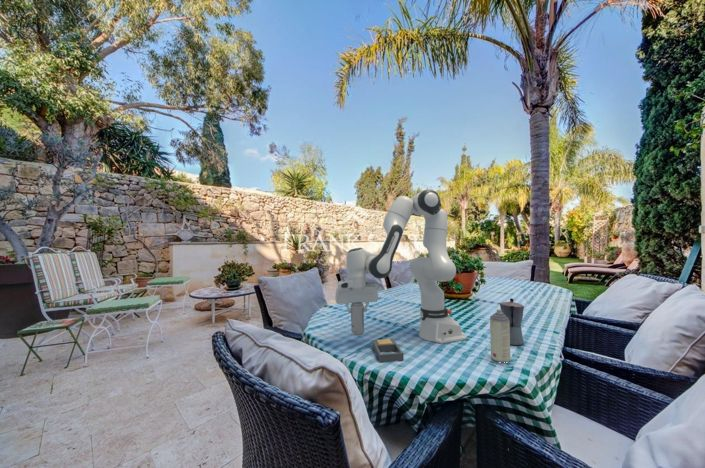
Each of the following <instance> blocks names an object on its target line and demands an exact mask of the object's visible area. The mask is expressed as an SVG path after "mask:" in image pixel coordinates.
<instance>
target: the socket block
mask: <svg viewBox="0 0 705 468" xmlns="http://www.w3.org/2000/svg"><path fill="white" fill-rule="evenodd" d="M371 342H372V348H373V350H374V353H375V355H376V357H377V359H378V363H389V362H390V363H391V362H402V361H404V352H403V351H402V349H401V347H400V346H399V345H398V343H397V342H396V340H395V339H394V338H384V339H383V338H382V339H373V340H372V341H371ZM388 352H389V353H388ZM390 352H391V353H390Z"/></svg>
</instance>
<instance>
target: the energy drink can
mask: <svg viewBox="0 0 705 468" xmlns="http://www.w3.org/2000/svg"><path fill="white" fill-rule="evenodd" d="M364 307H365V306H364V303H363V302H362V303H350V308H351V313H350V323H351V326H350V328H351V329H350V330H351V333H352V335H353V336H357V337H358V336H362V335H363V334H364V333H365V312H364Z"/></svg>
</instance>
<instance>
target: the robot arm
mask: <svg viewBox="0 0 705 468" xmlns="http://www.w3.org/2000/svg"><path fill="white" fill-rule="evenodd" d="M412 216H415V217H420V216H423V219H424V228H423V229H424V230H423V239H422V244H423V247H424V248H425V249H426V250H427V251H428V256H419V257H418V256H417V257H415V258H412V260H411V261H410V264H409V271H410V273H411V275H413V277H414V279H415V280H416V282H417V285H418V287H419V288H418V289H419V292H420V293H419V294H420V311H419V313H420V314H419V315H420V327H419V332H418V337H419V338H420V339H422V340H423V341H424V340H425V341H429V342H433V343H434V342H435V343H437V344H442V345H443V344H447V343H452V342H457V341H464V340H467V339H468V338H467V335H466V333H465V332H463V331H462V328H461V325H460V323H459V322H458V321H456V320H455V319H454V318H452V316H450V315H452V314H453V311H452V309H449V308H446V307H445V292H444V290H443V289H442V288H441V287H440V286H439V284H438V282H441V283H442V282H450V281H453V279H454V278H455V277H456V275H457V267H456V264H455V263H454V262H453V261H452V260H451V258H450V255H449V252H448V249H447V241H448V239H447V236H448V228H449V227H448V224H449V223H448V213H447V211H446V210H445V209H443V208H442V203H441V198H440V195H439V193H438V192H437V191H435V190H433V189H425V190H423V191H420V192H418V193H416V194H415V195H414V196H412V197H408V196H407V195H400V196H398V197H396V199H395V200H394V201H393V202H392V204H391V206H390V207H389V209H388V210H387V212H386V215H385V216H384V219H383V223H382V226H383V229H384V231H385V232H386V237H385V240H384V243H383V245H382V246H381V249H380V251H379V253H378V254H375V253H372V252H370V251H367V250H365V249H364V248H363V247H356V248H352V249H350V250H348V251H347V254H346V270H347V271H346V272H347V273H346V278H344V279H343V280H342V279H341V280H339V281H338V282H337V288H336V290H335V303H336V304H338V305H341V304H344V305H345V307H346V309H347V313H348V314H351V307H349V304H352V303H362V304H363V303H365V306H364V313H365V312H366V313H367V311H368V307H369V304H370V303H374V302H375V303H377V302H379V294H378V291H379V284H378V283H377V282H376V281H366V275H367V274H369V275H371V276H373V277H374V278H376V279H379V280H380V279H384V278H387V277H388V276H389V275H390V274H391V272H392V269H393V260H394V257H395V254H396V252H397V249H398V247H399V245H400V242H401V241H402V236H403V233H404V231H405V228H406V227H407V225H408V223H409V221H410V218H411V217H412Z"/></svg>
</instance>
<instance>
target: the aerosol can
mask: <svg viewBox="0 0 705 468" xmlns="http://www.w3.org/2000/svg"><path fill="white" fill-rule="evenodd" d="M489 329H490V358H491V360H492V361H493V360H494V361H493V362H495V361H496V362H495V363H497V362H501V363H500V364H502V363H504V362H505V363H506V362H510V363H511V344H510V325H509V318H508V317H506V315H505V314H504V313H503V312H502V310H501V308H497V309H496V311H495V312H494V313H493V314H492V315H490V318H489Z"/></svg>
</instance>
